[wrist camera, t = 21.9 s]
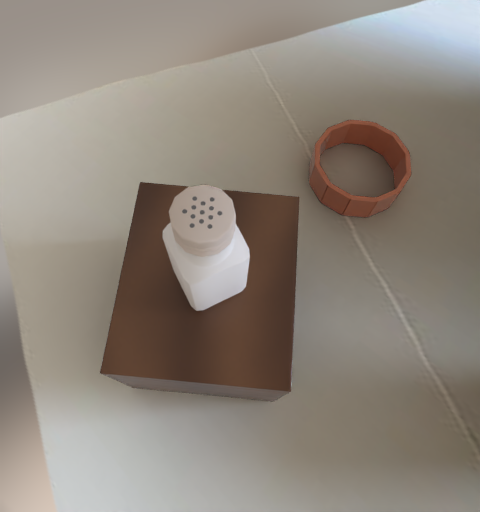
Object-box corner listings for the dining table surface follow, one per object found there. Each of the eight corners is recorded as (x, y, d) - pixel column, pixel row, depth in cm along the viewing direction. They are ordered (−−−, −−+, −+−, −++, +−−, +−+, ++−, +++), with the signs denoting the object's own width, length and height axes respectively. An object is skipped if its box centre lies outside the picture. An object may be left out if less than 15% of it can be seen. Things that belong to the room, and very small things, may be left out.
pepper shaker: (171, 266, 29) (147, 195, 20) (222, 242, 30) (221, 164, 21) (195, 316, 28) (181, 264, 19) (249, 290, 29) (258, 229, 20)
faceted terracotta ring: (396, 144, 46) (407, 124, 43) (400, 221, 42) (414, 205, 39) (310, 136, 46) (316, 116, 43) (307, 212, 42) (313, 196, 39)
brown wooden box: (282, 249, 41) (299, 196, 32) (274, 401, 36) (291, 391, 26) (159, 237, 41) (139, 181, 32) (132, 387, 36) (99, 373, 26)
